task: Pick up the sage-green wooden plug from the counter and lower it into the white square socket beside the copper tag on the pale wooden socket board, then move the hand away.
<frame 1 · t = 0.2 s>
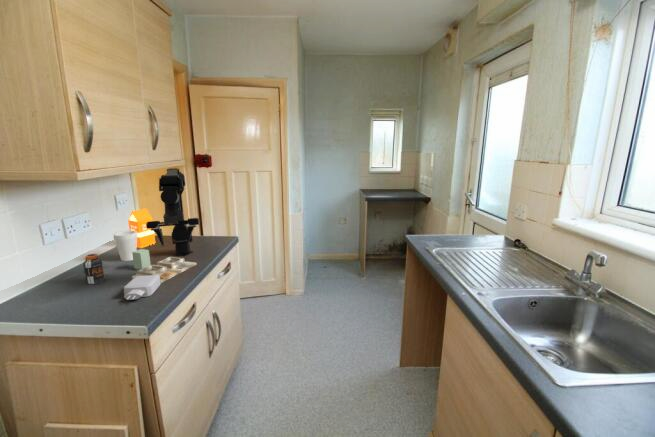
hand: (175, 244, 123), 15 cm above the worktop, tool pointing down, fingers open, 9 cm apart
pill bottle: (95, 281, 124), on the worktop
plug: (142, 267, 138), on the worktop
orange juice: (143, 245, 170), on the worktop
socket board: (166, 271, 135), on the worktop
charger: (140, 295, 113), on the worktop
foam cup: (129, 258, 149), on the worktop
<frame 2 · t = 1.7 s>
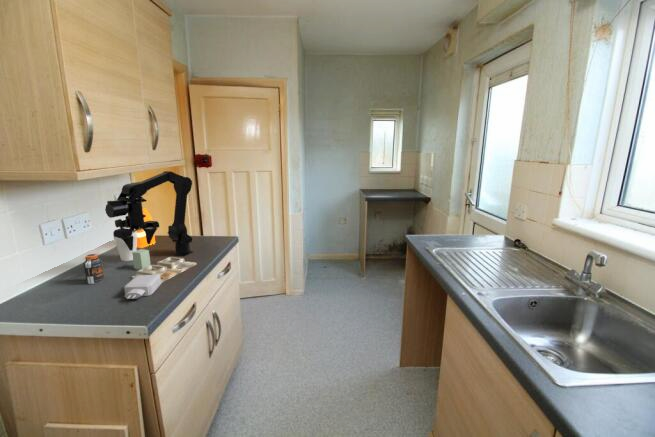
hand: (140, 247, 136), 10 cm above the worktop, tool pointing down, fingers open, 9 cm apart
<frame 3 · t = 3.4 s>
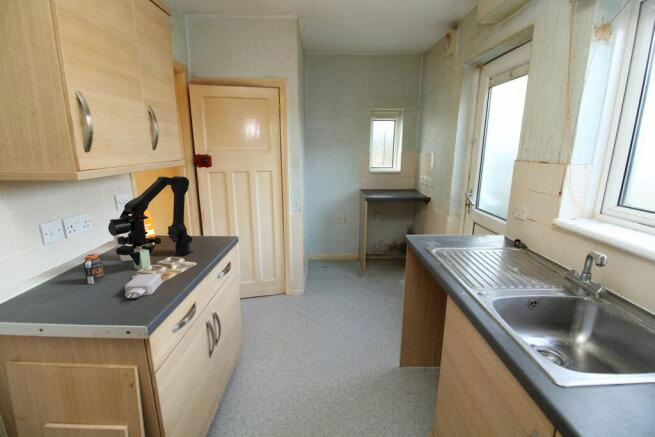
hand: (142, 263, 138), 2 cm above the worktop, tool pointing down, fingers closed on plug, 4 cm apart
plug: (142, 267, 138), on the worktop, touching gripper
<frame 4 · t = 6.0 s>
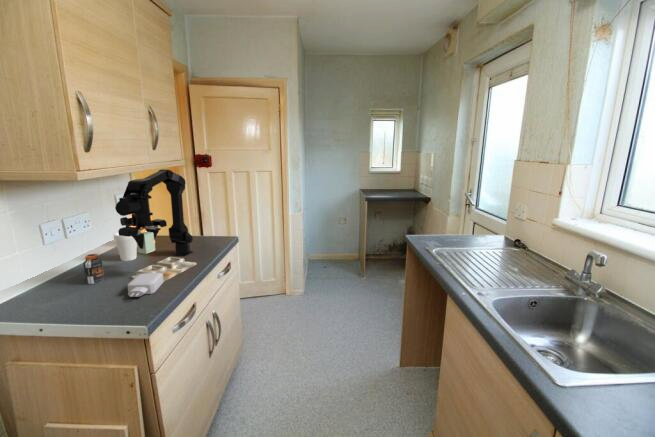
hand: (146, 246, 129), 12 cm above the worktop, tool pointing down, fingers closed on plug, 4 cm apart
plug: (146, 251, 130), point 10 cm above the worktop, touching gripper
charger: (143, 293, 115), on the worktop
everything else where it was.
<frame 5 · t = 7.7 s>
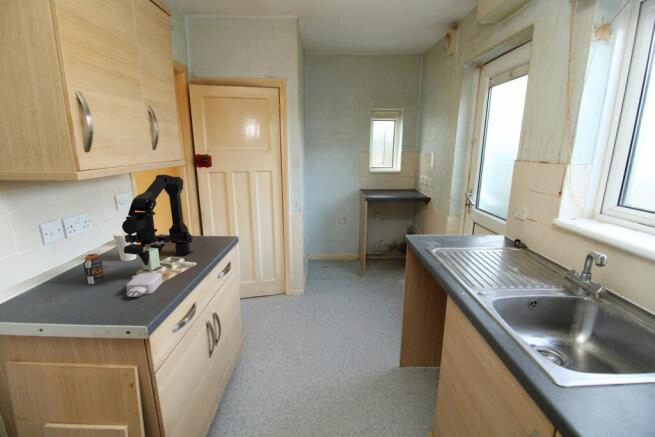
hand: (151, 263, 129), 6 cm above the worktop, tool pointing down, fingers closed on plug, 4 cm apart
plug: (151, 267, 130), point 3 cm above the worktop, touching gripper
when the fingers open (4 cm above the worktop, at t = 8.8 s): plug drops 1 cm, resting on socket board.
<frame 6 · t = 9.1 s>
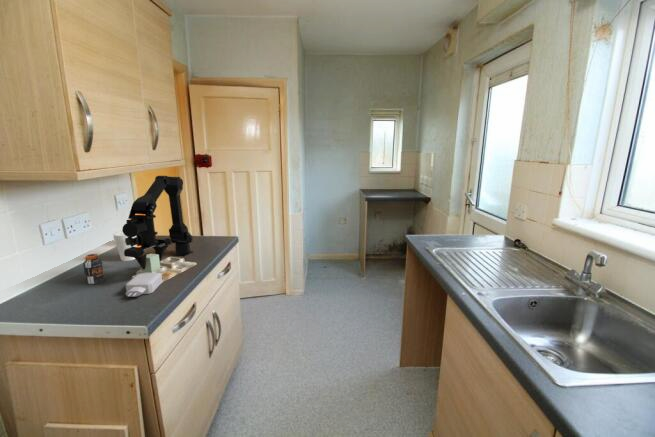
hand: (151, 265, 130), 4 cm above the worktop, tool pointing down, fingers open, 7 cm apart
plug: (152, 273, 130), point 1 cm above the worktop, touching socket board
everything else where it was.
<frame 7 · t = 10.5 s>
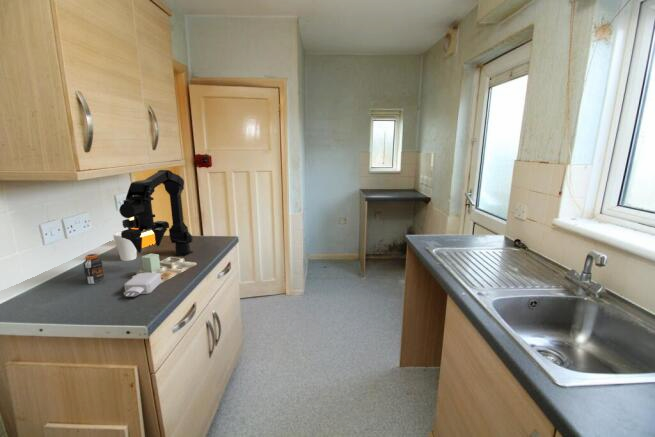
hand: (149, 249, 128), 12 cm above the worktop, tool pointing down, fingers open, 9 cm apart
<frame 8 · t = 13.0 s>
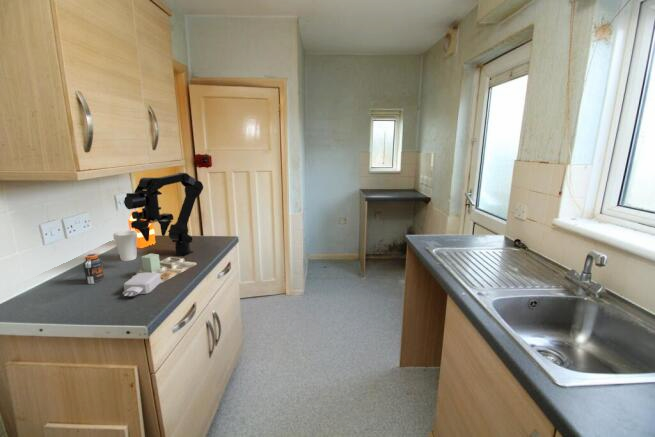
hand: (155, 238, 142), 12 cm above the worktop, tool pointing down, fingers open, 9 cm apart
charger: (139, 292, 116), on the worktop, touching socket board
everything else where it was.
at the end: plug 0.0 cm from the target spot on the socket board, point 0.8 cm above the socket board's base; plug tilted 0°; the gripper is holding nothing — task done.
